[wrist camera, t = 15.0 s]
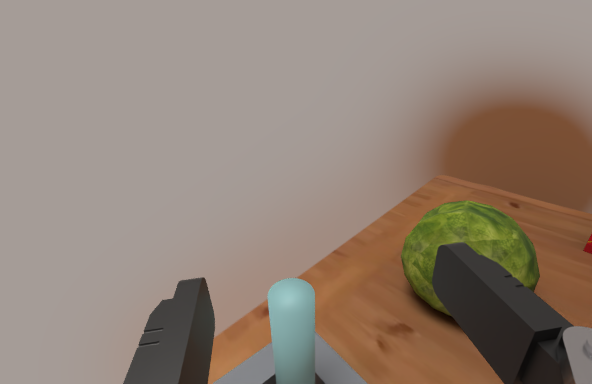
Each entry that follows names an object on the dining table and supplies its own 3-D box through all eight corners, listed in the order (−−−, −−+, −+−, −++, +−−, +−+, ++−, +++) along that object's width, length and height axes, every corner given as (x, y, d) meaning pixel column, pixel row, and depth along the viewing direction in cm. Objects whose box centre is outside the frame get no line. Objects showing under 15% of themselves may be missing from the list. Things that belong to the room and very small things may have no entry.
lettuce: (464, 278, 59) (552, 240, 50) (447, 354, 41) (583, 316, 31) (411, 212, 62) (484, 165, 53) (372, 254, 44) (475, 192, 34)
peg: (300, 387, 35) (295, 272, 27) (322, 416, 32) (324, 296, 24) (272, 411, 33) (258, 292, 25) (294, 444, 30) (286, 322, 22)
